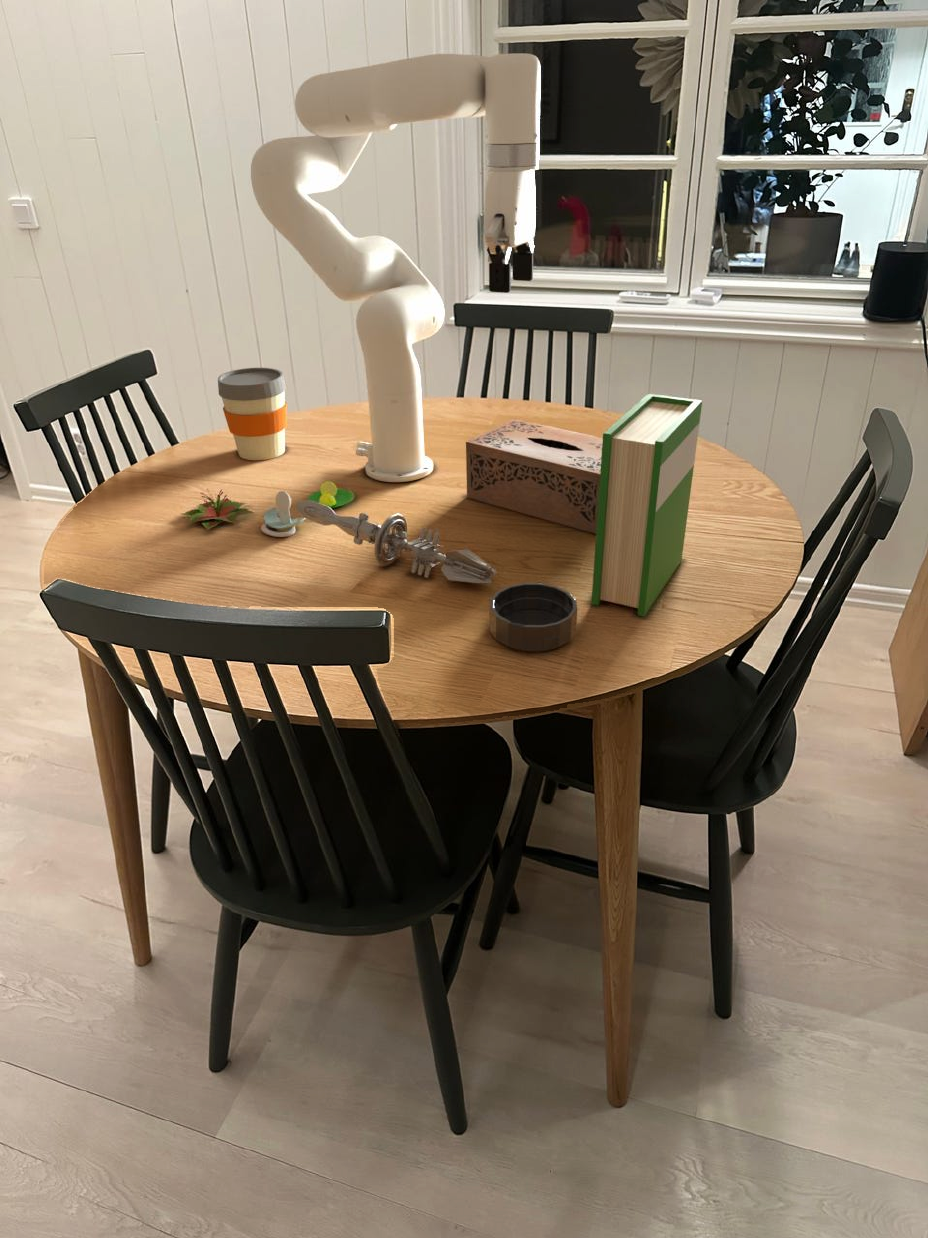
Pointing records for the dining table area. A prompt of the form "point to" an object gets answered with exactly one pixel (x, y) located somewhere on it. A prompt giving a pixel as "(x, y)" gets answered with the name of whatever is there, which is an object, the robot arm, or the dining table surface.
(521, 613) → the ashtray
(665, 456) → the hardback book
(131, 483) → the dining table surface
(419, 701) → the dining table surface
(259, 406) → the reusable coffee cup
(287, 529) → the pacifier
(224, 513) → the lily flower
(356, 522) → the spaceship
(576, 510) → the tissue box cover
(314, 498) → the green plate with lemon
